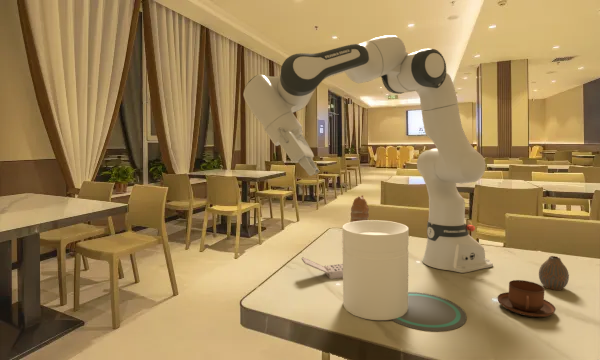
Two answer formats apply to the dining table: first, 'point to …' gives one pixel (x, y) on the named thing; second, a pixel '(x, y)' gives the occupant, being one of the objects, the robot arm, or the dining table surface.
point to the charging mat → (431, 313)
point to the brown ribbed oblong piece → (359, 209)
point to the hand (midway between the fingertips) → (315, 174)
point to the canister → (375, 269)
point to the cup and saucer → (526, 299)
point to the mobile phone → (327, 268)
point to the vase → (553, 273)
